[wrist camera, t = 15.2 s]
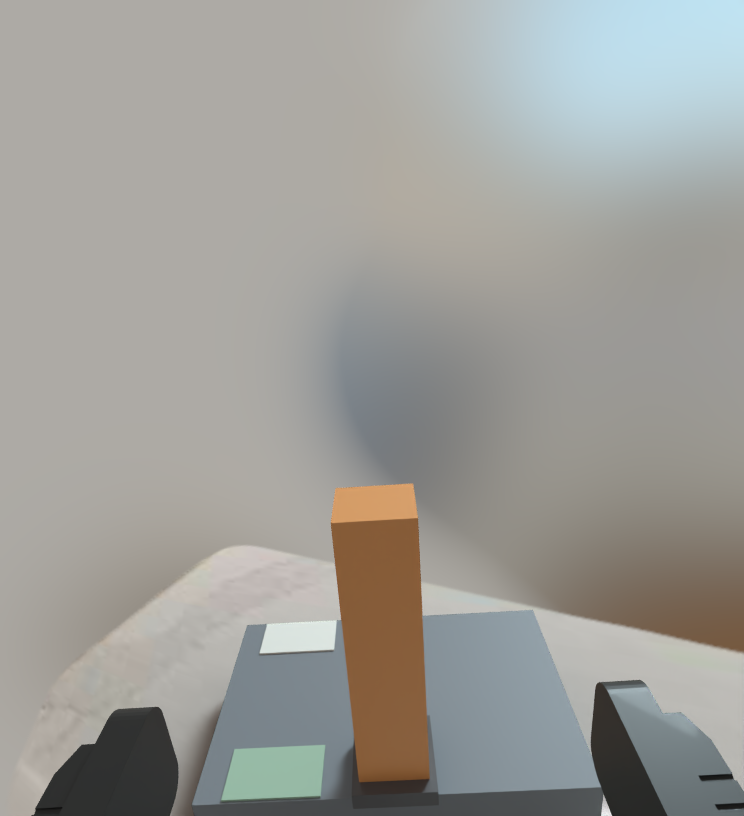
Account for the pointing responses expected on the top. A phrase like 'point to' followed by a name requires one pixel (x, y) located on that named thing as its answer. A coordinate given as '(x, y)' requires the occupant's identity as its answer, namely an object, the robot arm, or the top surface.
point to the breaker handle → (384, 645)
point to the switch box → (446, 704)
